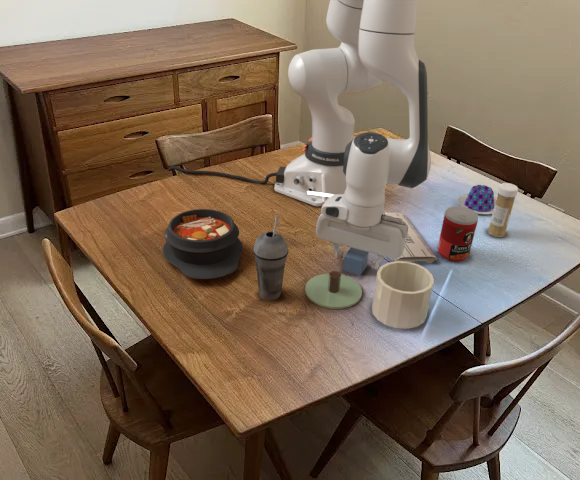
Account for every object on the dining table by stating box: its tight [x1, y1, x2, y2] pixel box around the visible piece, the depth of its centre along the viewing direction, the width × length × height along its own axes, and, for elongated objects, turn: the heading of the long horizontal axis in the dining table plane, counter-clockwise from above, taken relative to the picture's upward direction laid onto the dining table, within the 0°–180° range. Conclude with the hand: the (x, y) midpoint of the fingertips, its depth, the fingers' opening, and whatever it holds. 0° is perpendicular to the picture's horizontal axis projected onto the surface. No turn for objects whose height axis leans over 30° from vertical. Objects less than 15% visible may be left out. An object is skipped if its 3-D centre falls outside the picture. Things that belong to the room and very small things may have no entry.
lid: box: [304, 270, 363, 310], centre depth 131 cm, size 12×12×5 cm
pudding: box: [457, 184, 497, 215], centre depth 167 cm, size 12×12×5 cm
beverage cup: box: [252, 213, 289, 301], centre depth 125 cm, size 7×7×20 cm
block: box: [342, 247, 370, 276], centre depth 139 cm, size 4×4×4 cm
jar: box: [371, 261, 435, 330], centre depth 126 cm, size 11×11×10 cm
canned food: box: [437, 205, 479, 263], centre depth 145 cm, size 8×8×11 cm
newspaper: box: [383, 211, 438, 264], centre depth 151 cm, size 23×12×2 cm, turn 14°
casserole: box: [162, 208, 244, 280], centre depth 140 cm, size 25×19×8 cm
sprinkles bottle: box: [487, 182, 519, 238], centre depth 153 cm, size 5×5×14 cm
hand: (356, 263), depth 139 cm, fingers open, 7 cm apart
